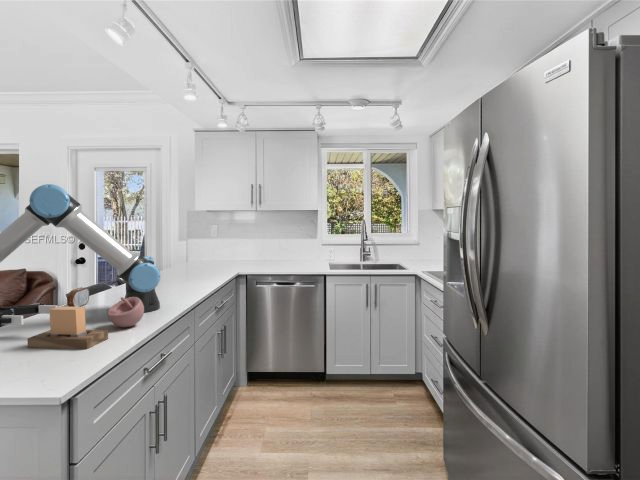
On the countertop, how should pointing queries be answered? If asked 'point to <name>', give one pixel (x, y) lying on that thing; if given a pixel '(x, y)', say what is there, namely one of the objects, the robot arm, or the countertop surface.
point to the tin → (78, 297)
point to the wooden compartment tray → (68, 340)
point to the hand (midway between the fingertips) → (40, 314)
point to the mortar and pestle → (126, 312)
